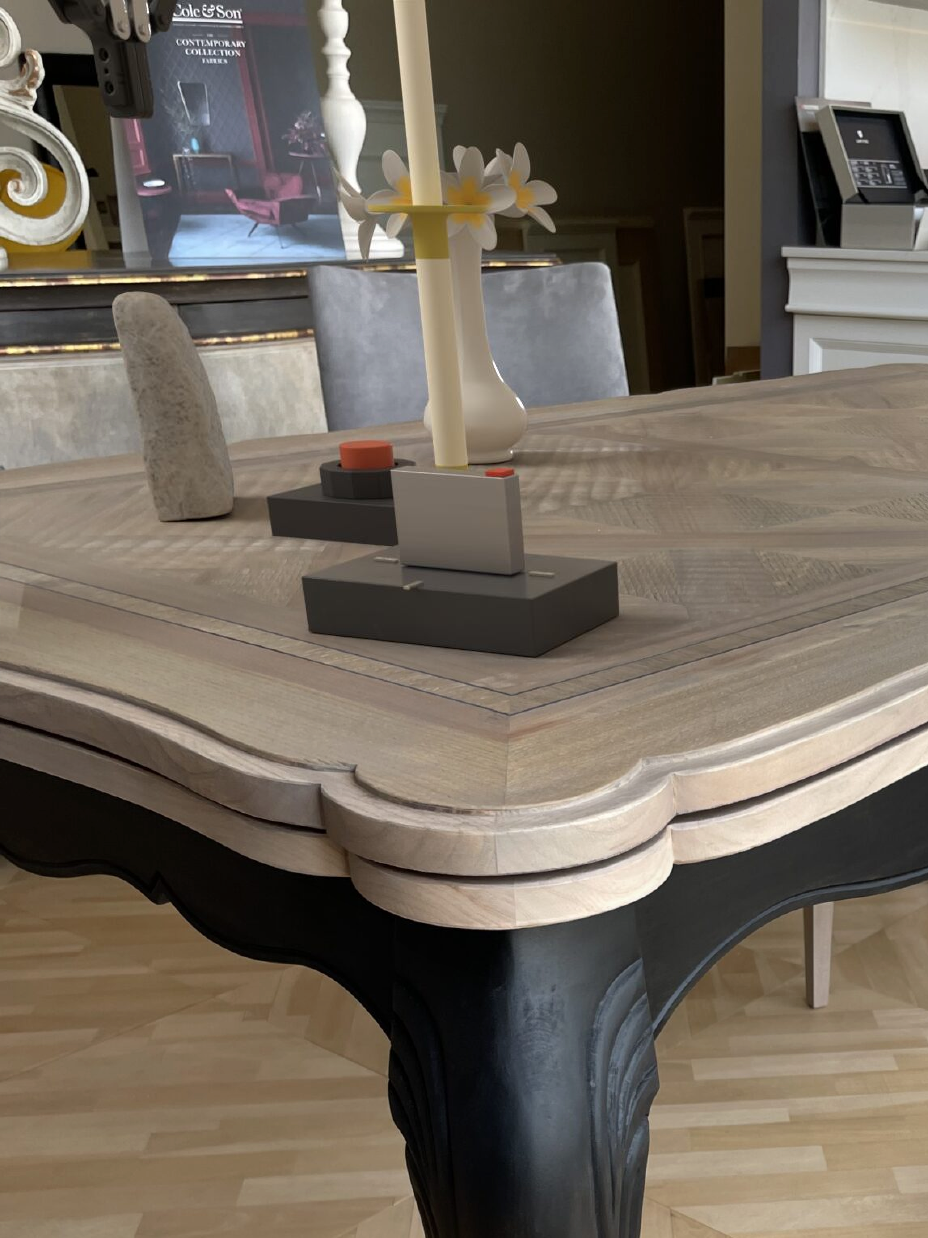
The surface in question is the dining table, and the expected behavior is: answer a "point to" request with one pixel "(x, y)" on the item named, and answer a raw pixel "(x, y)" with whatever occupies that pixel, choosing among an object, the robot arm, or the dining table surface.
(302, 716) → the dining table surface
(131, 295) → the decorative stone
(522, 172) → the flower vase
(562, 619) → the dark grey slotted base
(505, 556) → the grey box
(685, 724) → the dining table surface
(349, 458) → the button
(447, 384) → the candle
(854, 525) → the dining table surface
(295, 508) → the button box
